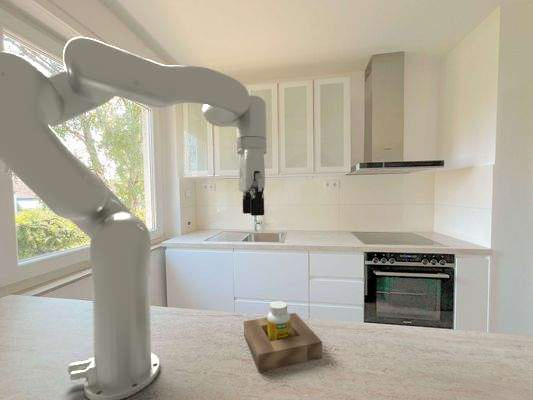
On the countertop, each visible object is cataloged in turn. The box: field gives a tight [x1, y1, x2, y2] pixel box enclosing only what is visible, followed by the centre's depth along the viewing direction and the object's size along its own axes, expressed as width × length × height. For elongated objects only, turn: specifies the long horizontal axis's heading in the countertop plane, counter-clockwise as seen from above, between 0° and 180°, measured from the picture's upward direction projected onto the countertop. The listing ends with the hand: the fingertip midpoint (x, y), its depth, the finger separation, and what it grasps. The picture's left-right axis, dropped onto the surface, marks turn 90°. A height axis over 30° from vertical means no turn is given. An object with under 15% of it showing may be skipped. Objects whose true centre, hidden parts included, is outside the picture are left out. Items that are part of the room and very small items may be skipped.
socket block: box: [243, 312, 323, 373], centre depth 57 cm, size 14×14×4 cm
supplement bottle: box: [266, 300, 291, 342], centre depth 57 cm, size 5×5×10 cm
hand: (252, 214), depth 64 cm, fingers open, 9 cm apart
